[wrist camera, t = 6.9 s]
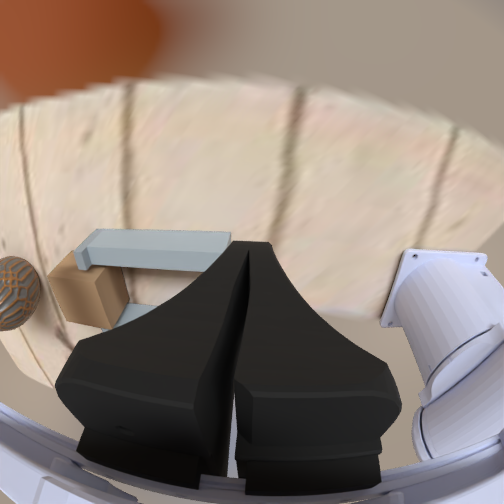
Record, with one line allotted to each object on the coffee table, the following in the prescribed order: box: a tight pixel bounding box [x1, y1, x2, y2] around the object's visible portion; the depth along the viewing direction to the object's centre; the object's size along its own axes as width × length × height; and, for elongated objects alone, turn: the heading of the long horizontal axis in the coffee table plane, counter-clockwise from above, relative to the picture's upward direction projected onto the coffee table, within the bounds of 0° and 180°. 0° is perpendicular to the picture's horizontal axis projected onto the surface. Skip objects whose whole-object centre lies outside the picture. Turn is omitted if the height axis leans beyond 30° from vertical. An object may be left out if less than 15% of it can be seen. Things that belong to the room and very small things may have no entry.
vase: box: [0, 256, 40, 331], centre depth 20 cm, size 7×7×9 cm
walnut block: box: [47, 251, 129, 330], centre depth 21 cm, size 5×5×4 cm
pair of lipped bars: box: [73, 229, 231, 332], centre depth 21 cm, size 11×9×4 cm
